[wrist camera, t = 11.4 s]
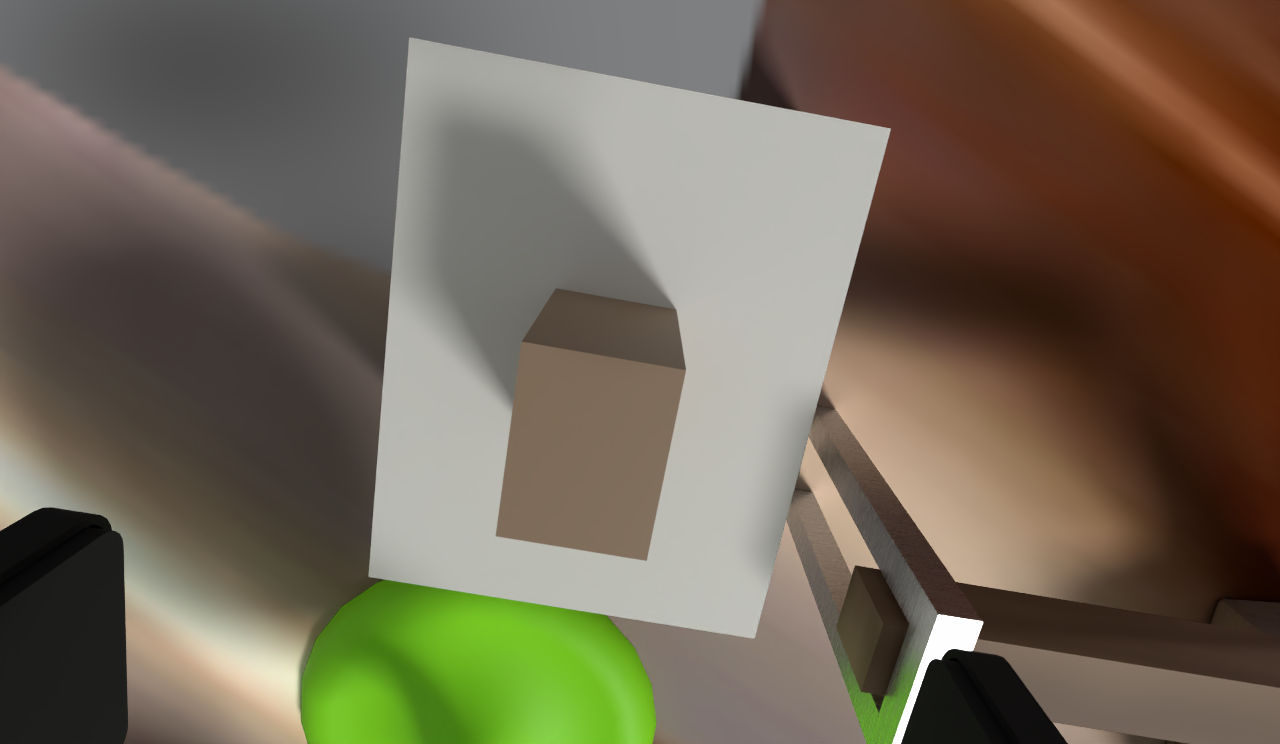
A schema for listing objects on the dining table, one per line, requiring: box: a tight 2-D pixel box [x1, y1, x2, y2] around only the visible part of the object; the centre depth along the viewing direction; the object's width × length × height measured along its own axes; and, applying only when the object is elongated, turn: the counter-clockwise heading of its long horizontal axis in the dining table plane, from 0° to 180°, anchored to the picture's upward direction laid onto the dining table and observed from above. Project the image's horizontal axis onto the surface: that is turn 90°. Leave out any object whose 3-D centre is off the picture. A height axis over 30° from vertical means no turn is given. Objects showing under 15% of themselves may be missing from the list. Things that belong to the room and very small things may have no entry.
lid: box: [369, 37, 891, 638], centre depth 17 cm, size 14×11×7 cm
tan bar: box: [836, 566, 1280, 744], centre depth 19 cm, size 2×16×2 cm, turn 80°
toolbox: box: [786, 406, 983, 744], centre depth 21 cm, size 14×14×13 cm
